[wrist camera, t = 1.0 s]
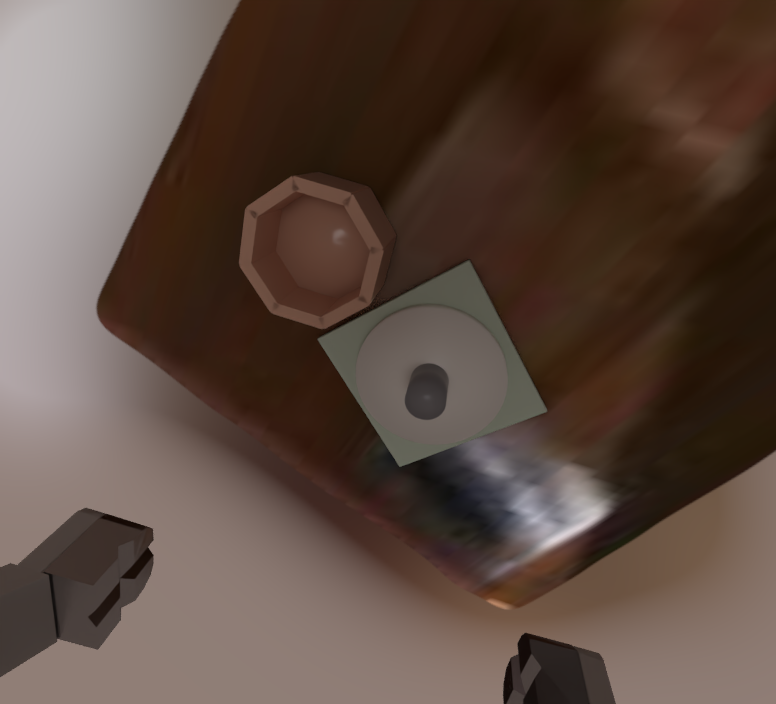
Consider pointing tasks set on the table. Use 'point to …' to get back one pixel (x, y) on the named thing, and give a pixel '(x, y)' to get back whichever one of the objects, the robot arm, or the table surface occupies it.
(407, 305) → the mat
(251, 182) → the table surface
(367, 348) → the lid
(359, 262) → the bowl
